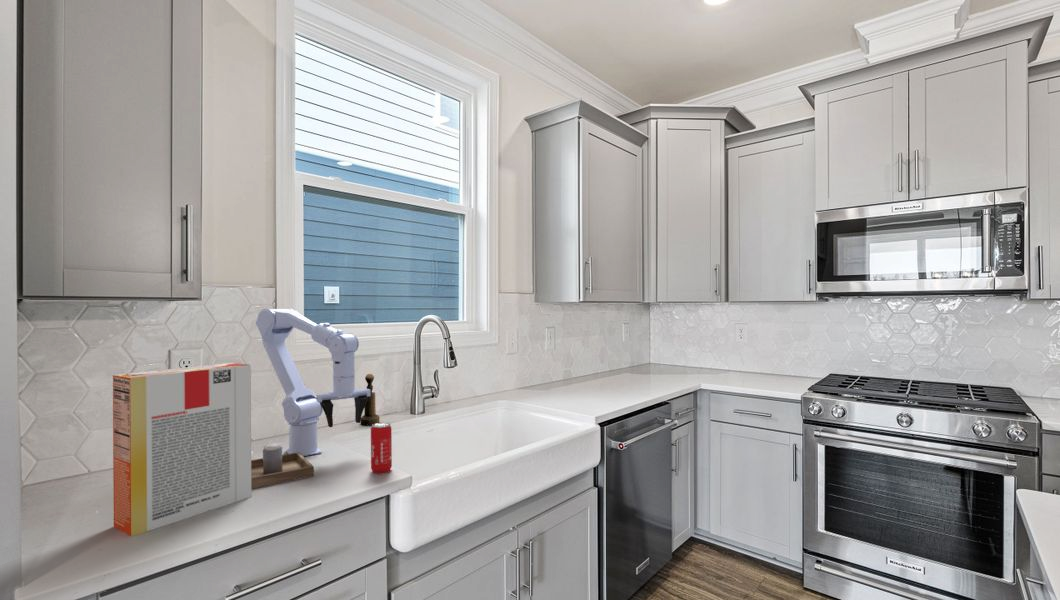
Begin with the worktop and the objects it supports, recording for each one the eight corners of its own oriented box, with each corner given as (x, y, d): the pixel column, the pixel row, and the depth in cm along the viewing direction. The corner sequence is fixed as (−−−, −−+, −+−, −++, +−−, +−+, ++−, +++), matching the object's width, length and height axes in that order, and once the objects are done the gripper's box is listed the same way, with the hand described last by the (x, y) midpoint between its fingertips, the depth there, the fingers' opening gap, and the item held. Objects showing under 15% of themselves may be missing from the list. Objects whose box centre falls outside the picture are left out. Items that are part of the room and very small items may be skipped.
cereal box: (232, 490, 121) (231, 362, 121) (251, 496, 116) (250, 364, 116) (113, 526, 101) (112, 375, 101) (131, 536, 97) (130, 378, 97)
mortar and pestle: (372, 420, 190) (371, 372, 190) (383, 422, 187) (382, 373, 187) (356, 424, 185) (356, 374, 185) (367, 426, 181) (367, 375, 181)
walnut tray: (233, 472, 133) (232, 463, 133) (298, 460, 142) (298, 452, 142) (242, 490, 120) (242, 480, 120) (313, 476, 130) (313, 466, 130)
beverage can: (385, 475, 130) (385, 427, 130) (367, 473, 131) (366, 427, 131) (395, 468, 135) (394, 423, 135) (377, 467, 136) (376, 422, 136)
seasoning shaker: (261, 472, 131) (260, 445, 131) (279, 467, 134) (278, 441, 134) (266, 476, 128) (265, 448, 128) (284, 472, 131) (284, 444, 131)
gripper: (321, 380, 138) (321, 431, 138) (374, 375, 146) (374, 423, 146) (314, 377, 143) (314, 426, 143) (365, 373, 152) (366, 418, 152)
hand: (344, 424), depth 145 cm, fingers open, 7 cm apart
